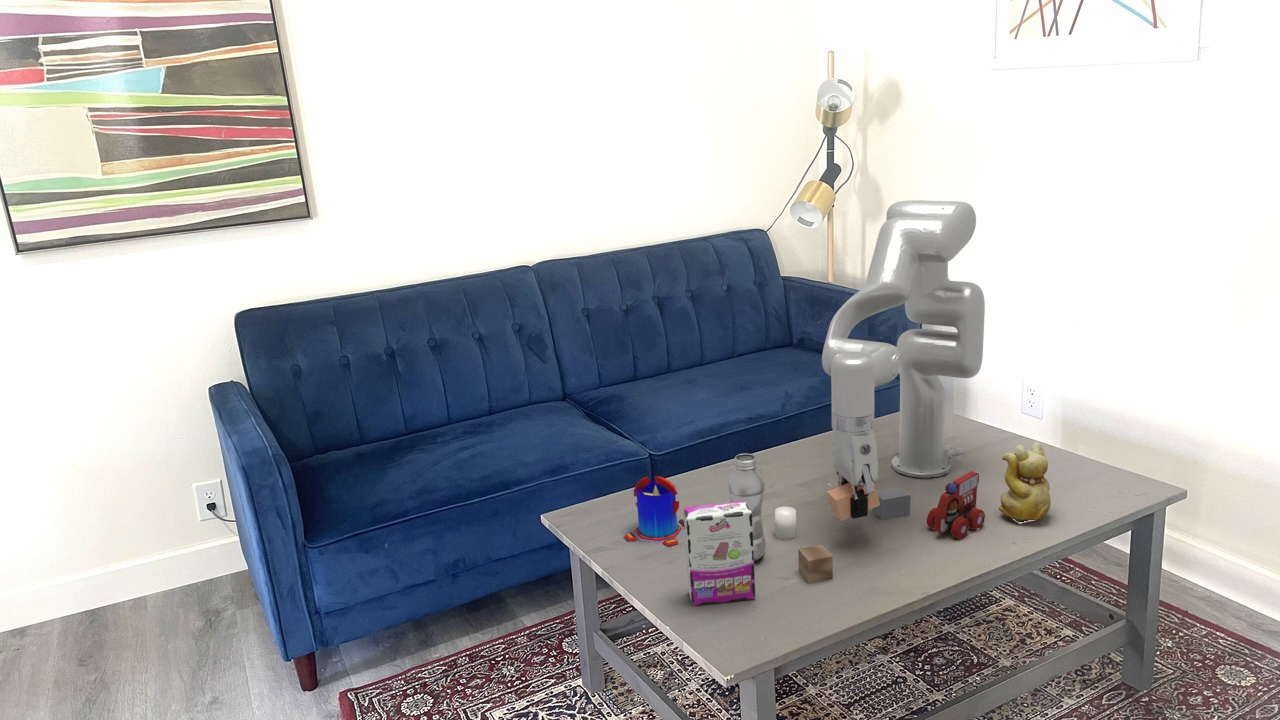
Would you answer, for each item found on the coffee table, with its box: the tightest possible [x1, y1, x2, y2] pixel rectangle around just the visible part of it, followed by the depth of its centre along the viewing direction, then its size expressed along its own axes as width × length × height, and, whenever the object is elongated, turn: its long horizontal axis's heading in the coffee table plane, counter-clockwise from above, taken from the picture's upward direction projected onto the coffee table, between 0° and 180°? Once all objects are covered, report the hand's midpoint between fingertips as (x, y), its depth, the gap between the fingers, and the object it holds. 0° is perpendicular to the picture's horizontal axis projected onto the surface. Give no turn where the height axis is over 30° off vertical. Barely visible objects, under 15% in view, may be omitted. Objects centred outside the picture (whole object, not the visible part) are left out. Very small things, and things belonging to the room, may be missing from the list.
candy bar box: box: [682, 501, 756, 607], centre depth 156 cm, size 11×5×16 cm, turn 96°
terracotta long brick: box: [826, 479, 880, 522], centre depth 171 cm, size 8×4×4 cm, turn 103°
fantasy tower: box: [622, 476, 685, 548], centre depth 181 cm, size 12×12×12 cm
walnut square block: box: [797, 544, 834, 584], centre depth 162 cm, size 4×4×4 cm
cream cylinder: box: [774, 506, 797, 540], centre depth 178 cm, size 4×4×5 cm
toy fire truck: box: [926, 471, 986, 540], centre depth 175 cm, size 7×12×10 cm, turn 128°
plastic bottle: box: [727, 453, 767, 562], centre depth 168 cm, size 6×7×20 cm
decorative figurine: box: [998, 441, 1052, 522], centre depth 177 cm, size 10×8×15 cm
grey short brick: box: [872, 486, 911, 521], centre depth 183 cm, size 6×4×4 cm, turn 104°
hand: (853, 510), depth 171 cm, fingers closed on terracotta long brick, 4 cm apart
